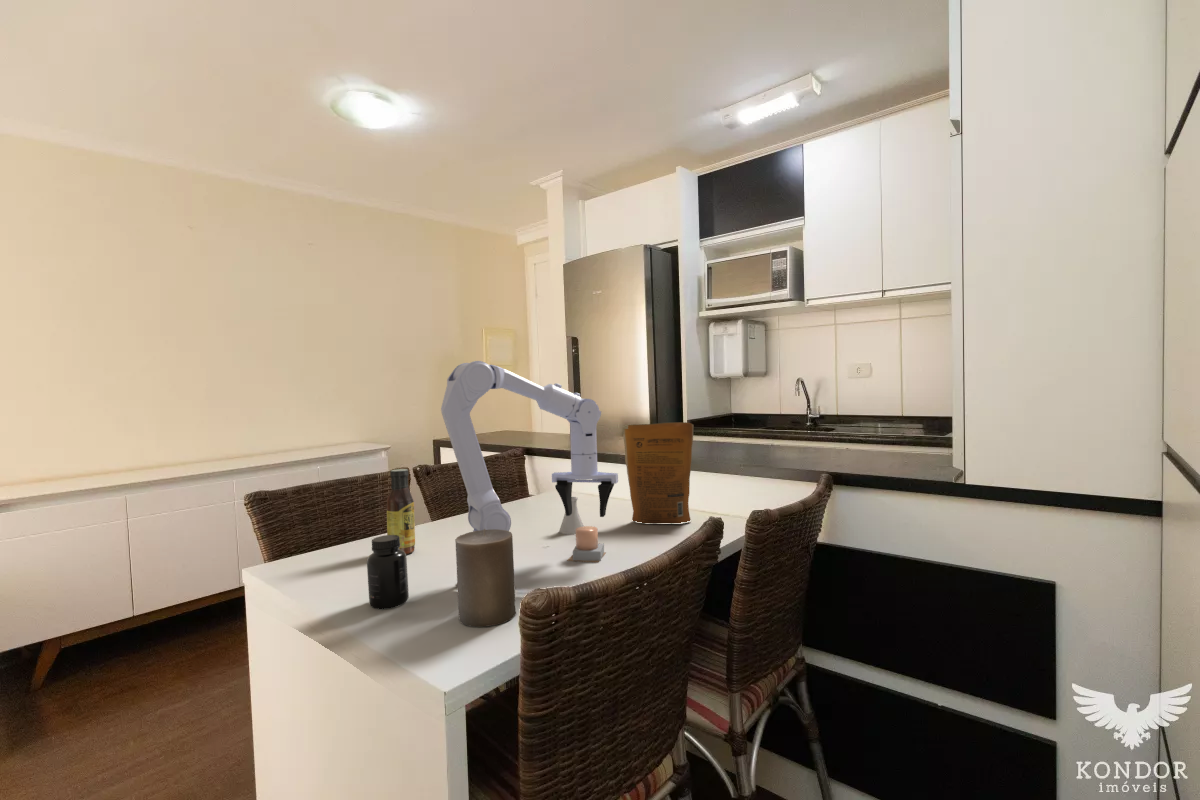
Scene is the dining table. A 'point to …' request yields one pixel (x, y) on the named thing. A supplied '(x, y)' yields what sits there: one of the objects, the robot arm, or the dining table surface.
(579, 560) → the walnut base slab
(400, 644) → the dining table surface
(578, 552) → the slate top block
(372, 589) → the supplement bottle
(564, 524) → the flask
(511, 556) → the pillar candle
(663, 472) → the pancake mix bag
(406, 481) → the sauce bottle
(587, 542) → the terracotta cylinder
